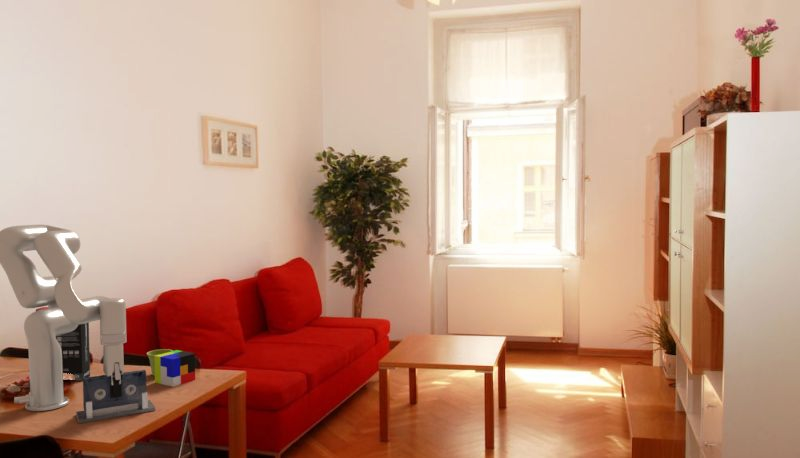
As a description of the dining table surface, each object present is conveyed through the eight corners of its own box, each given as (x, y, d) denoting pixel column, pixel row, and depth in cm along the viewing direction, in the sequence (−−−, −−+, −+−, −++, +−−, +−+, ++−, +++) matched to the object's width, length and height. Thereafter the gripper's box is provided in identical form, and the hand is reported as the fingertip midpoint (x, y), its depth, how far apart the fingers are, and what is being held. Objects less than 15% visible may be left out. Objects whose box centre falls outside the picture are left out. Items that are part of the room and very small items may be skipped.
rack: (79, 423, 197) (78, 404, 197) (75, 415, 205) (75, 396, 205) (155, 410, 209) (154, 392, 209) (149, 402, 217) (149, 385, 216)
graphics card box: (92, 376, 248) (89, 305, 247) (83, 381, 241) (81, 308, 240) (46, 377, 248) (43, 305, 246) (36, 382, 241) (33, 309, 239)
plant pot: (141, 376, 248) (141, 353, 248) (159, 370, 257) (159, 348, 256) (161, 378, 245) (160, 355, 244) (178, 372, 253) (178, 350, 253)
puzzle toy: (173, 386, 235) (172, 359, 234) (155, 382, 240) (154, 355, 239) (195, 380, 243) (194, 353, 243) (177, 376, 249) (176, 350, 248)
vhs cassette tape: (145, 399, 213) (145, 369, 212) (147, 402, 210) (146, 371, 210) (83, 408, 204) (82, 377, 203) (84, 411, 201) (83, 379, 200)
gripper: (97, 334, 211) (98, 391, 212) (104, 344, 197) (105, 404, 198) (122, 332, 215) (123, 387, 216) (130, 341, 201) (132, 400, 202)
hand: (115, 395), depth 207 cm, fingers closed on vhs cassette tape, 2 cm apart
